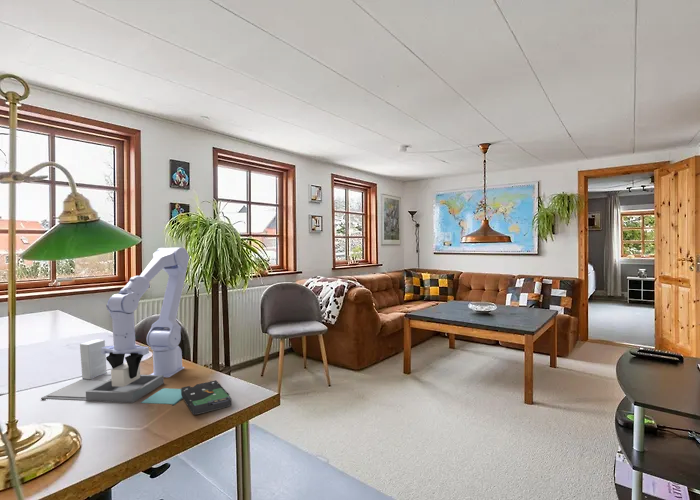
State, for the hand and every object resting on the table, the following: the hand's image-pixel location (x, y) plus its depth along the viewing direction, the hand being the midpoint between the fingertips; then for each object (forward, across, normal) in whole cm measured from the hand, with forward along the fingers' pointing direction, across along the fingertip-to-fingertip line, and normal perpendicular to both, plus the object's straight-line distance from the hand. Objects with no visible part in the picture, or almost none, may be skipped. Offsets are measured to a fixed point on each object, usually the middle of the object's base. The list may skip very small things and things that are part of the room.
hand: (126, 377), depth 116 cm
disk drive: (+5, +28, -4) cm, 29 cm away
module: (+1, 0, 0) cm, 1 cm away
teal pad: (+5, +15, -2) cm, 16 cm away
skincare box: (+5, -22, +12) cm, 26 cm away
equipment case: (+5, -8, 0) cm, 9 cm away
